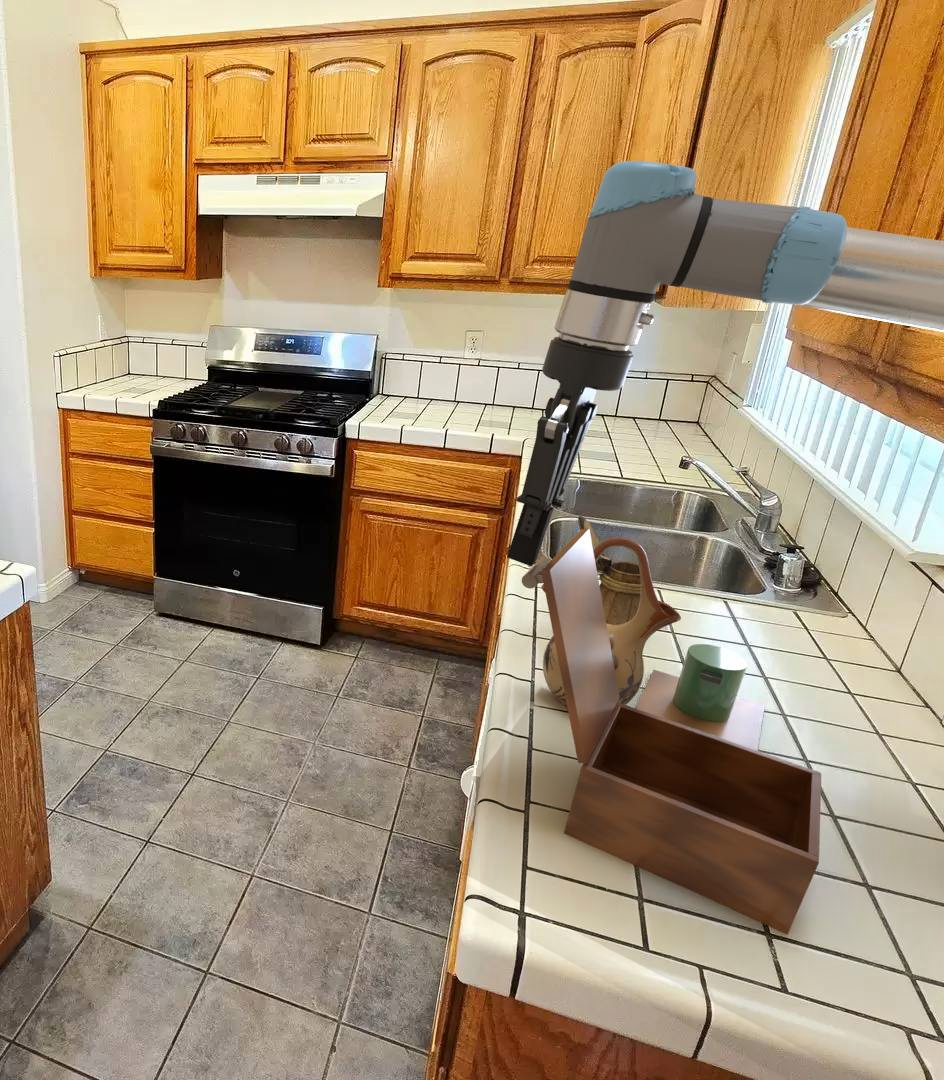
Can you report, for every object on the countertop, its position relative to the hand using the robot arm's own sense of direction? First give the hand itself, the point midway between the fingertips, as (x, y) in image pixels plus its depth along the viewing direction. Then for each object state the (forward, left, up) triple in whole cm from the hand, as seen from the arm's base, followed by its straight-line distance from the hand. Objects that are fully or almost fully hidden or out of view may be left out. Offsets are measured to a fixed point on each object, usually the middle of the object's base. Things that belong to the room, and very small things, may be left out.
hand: (521, 559), depth 82 cm
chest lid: (-8, 0, -7) cm, 11 cm away
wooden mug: (-3, -48, -27) cm, 55 cm away
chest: (-21, 0, -26) cm, 34 cm away
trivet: (-20, -30, -26) cm, 45 cm away
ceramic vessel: (-7, -20, -27) cm, 34 cm away
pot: (-20, -30, -26) cm, 44 cm away
